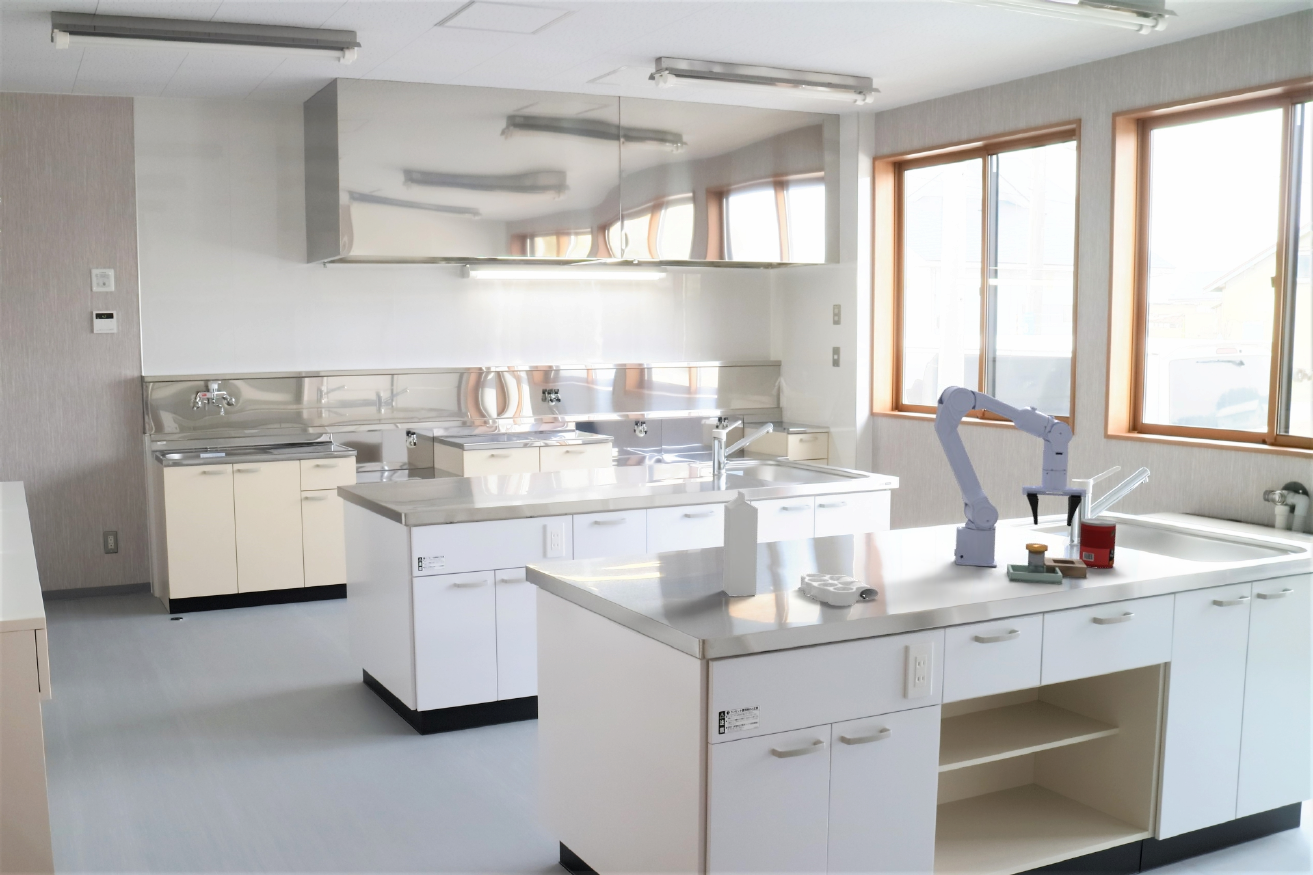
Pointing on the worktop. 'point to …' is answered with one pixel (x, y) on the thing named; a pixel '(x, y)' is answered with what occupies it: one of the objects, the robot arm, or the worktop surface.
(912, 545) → the worktop surface
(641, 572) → the worktop surface
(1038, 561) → the pin
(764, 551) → the worktop surface
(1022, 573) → the tray
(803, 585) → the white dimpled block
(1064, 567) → the socket block
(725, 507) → the milk
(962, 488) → the robot arm
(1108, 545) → the canned food
